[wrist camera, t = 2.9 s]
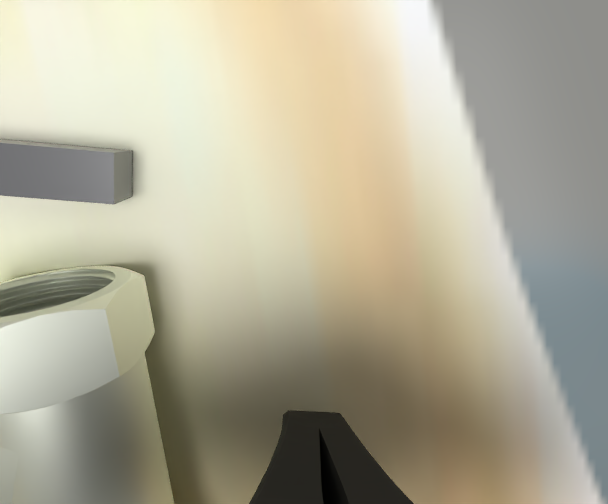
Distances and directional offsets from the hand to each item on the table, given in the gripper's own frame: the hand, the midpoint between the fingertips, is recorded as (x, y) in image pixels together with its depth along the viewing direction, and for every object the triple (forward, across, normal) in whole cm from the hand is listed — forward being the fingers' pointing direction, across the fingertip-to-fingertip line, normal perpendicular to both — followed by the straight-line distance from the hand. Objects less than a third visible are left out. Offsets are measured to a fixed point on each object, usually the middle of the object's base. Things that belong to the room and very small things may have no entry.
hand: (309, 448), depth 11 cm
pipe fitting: (+2, +6, 0) cm, 7 cm away
